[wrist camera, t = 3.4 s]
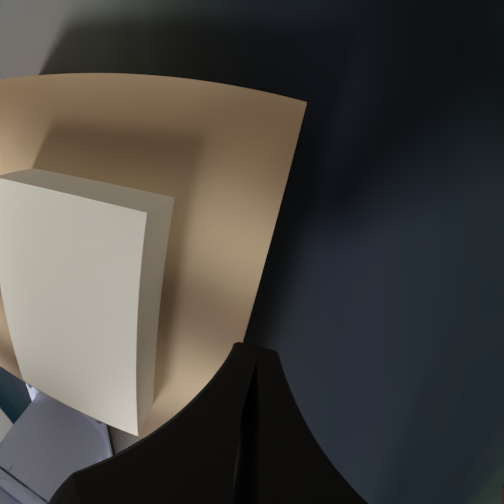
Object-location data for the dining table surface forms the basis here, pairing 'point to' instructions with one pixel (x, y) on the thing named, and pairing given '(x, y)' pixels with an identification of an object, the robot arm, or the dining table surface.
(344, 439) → the dining table surface
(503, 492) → the plant pot
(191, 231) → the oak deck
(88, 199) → the cream tile
